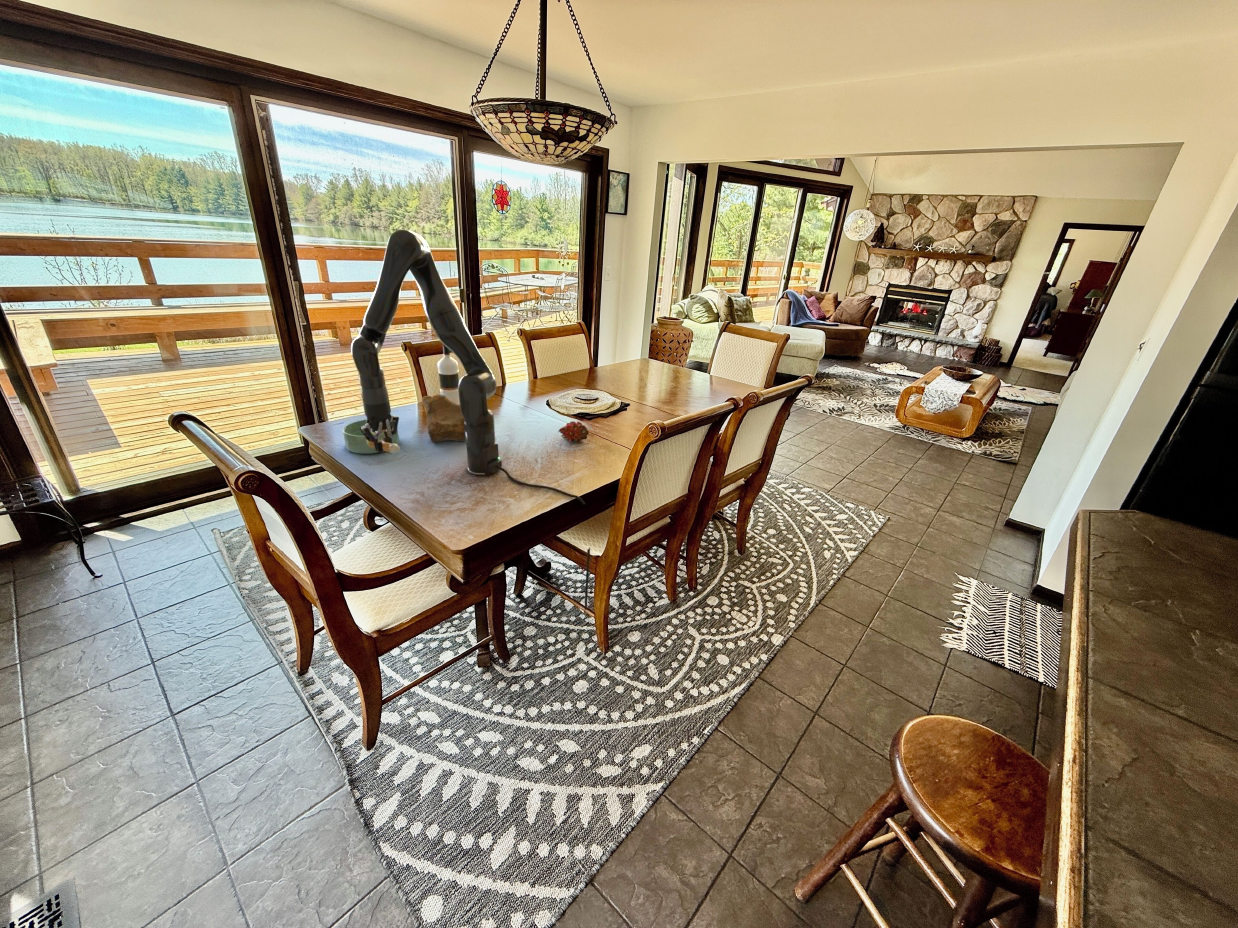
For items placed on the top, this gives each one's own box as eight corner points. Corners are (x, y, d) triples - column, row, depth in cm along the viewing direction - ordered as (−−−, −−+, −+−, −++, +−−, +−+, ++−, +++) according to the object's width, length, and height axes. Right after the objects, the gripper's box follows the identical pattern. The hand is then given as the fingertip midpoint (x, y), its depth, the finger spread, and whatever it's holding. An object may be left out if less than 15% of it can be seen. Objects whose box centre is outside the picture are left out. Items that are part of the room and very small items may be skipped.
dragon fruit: (589, 447, 186) (560, 447, 189) (592, 429, 190) (563, 429, 193) (584, 435, 179) (554, 436, 182) (587, 416, 183) (557, 417, 186)
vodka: (446, 415, 203) (439, 344, 190) (437, 409, 209) (429, 340, 196) (466, 411, 209) (461, 342, 196) (457, 405, 215) (451, 338, 202)
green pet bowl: (410, 442, 177) (407, 424, 174) (370, 459, 162) (366, 440, 159) (376, 432, 183) (373, 415, 180) (335, 447, 169) (331, 429, 165)
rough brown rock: (407, 443, 178) (401, 406, 170) (432, 424, 192) (428, 389, 184) (464, 454, 174) (460, 417, 166) (486, 434, 188) (483, 399, 180)
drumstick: (403, 451, 158) (401, 438, 156) (392, 456, 154) (390, 443, 152) (376, 444, 162) (374, 431, 160) (364, 448, 158) (362, 435, 156)
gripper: (365, 407, 143) (375, 460, 151) (402, 396, 155) (409, 445, 162) (347, 403, 146) (358, 455, 153) (385, 392, 158) (393, 440, 165)
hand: (384, 449), depth 158 cm, fingers closed on drumstick, 3 cm apart
